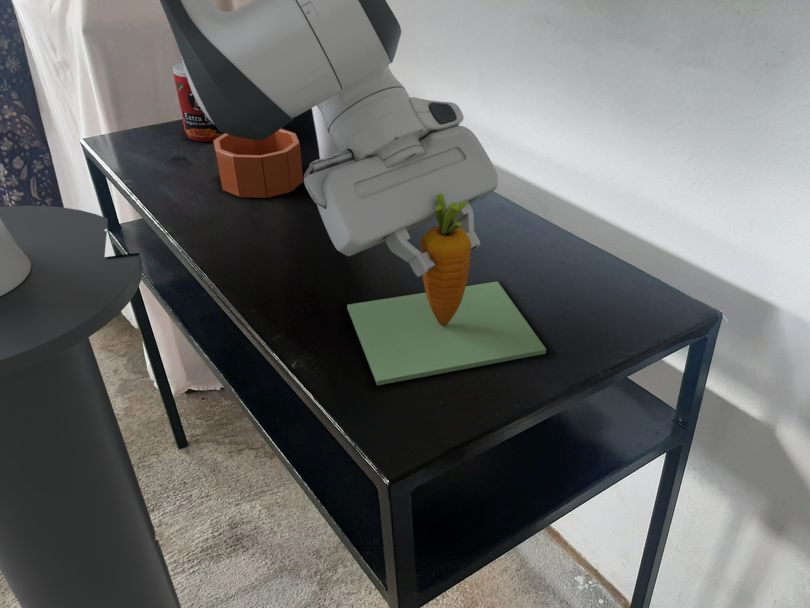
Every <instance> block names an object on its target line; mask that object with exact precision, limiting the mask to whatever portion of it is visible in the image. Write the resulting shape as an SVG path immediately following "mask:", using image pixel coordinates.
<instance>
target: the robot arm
mask: <svg viewBox="0 0 810 608" xmlns="http://www.w3.org/2000/svg"><path fill="white" fill-rule="evenodd" d="M159 2H160V5H161V7H162V9H163V12H164V14H165V16H166V19H167V22H168V24H169V27H170V30H171V31H172V35H173V37H174V39H175V42H176V45H177V47H178V50H179V53H180V57H181V60H182V61H181V62H183V65H184V69H185V73H186V76H187V79H188V82H189V85H190V88H191V91H192V93H193V95H194V97H195V99H196V101H197V103H198V105H199V106H200V108H201V109H202V111H203V112H204V114H205V115H206V116H207V118H208V119H209V120H210V121H211V122H212V123H213V124H214V125H215V126H216V127H217V129H218V130H219V131H221V132H223V133H226V134H229V135H232V136H236V137H240V138H245V139H251V140H265V139H266V138H268V137H269V136H271V135H272V134H274V133H275V132H277V131H278V130H280V129H283V128H284V127H285V126H288V124H290V123H292V122H293V121H294V118H296V117H298V116H300V115H302V114H303V113H305V112H307V111H309V110H312V108H313V107H314V106H317V107H318V108H319V109H320V111H321V113H322V115H323V118H324V121H325V126H326V129H327V132H328V134H329V135H330V137H331V139H332V141H333V143H334V144H335V146H336V148H337V150H338V151H339V153H337V154H334V155H332V156H330V157H327V158H325V159H320V158H317V159H315V160H313V161H312V162H310V163H309V166H308V168H307V169H306V170H305V172H304V174H303V184H304V186H305V188H306V190H307V192H308V194H309V196H310V197H311V198H310V199H312V201H313V202H314V203H315V204H316V207H317V209H318V212H319V215H320V218H321V220H322V222H323V223H322V224H323V225H324V228H325V230H326V231H327V232H326V233H327V234H328V236H329V238H330V240H331V243H332V244H333V247H334V248H335V250H336V251H338V252H339V253H341V254H343V255H345V256H346V257H352V256H354V255H357V254H359V253H361V252H363V251H366V250H368V249H371V248H372V247H373V248H374V247H375V246H377V245H380V244H382V243H384V242H385V243H386V246H387V247H388V249H389V251H390V252H391V253H393V254H394V255H395V256H397V257H398V258H400V259H402V260H403V261H405V262H406V263H408V264H409V266H410V268H411V269H412V271H413V273H414V274H415V276H417V277H418V278H419V277H423V276H422V275H424V274H426V273H428V272H429V271H431V270H432V269H434V268H435V263H434V261H433V260H432V259H431V255H430V254H429V252H428V251H426V252H424V253H422V254H421V250H419V249H417V247H415V246H414V245H413V244H411V243H410V241H409V240H411V235H410V233H409V232H410V231H412V230H415V229H417V228H420V227H422V226H424V225H426V224H428V223H430V222H433V221H435V220H437V218H436V214H435V207H436V206H437V205H438V204H437V199H436V196H437V195H438V194H443V195H444V199H445V207H446V212H447V210H448V208H449V206H450V205H451V203H452V202H456V203H457V204H460V203H462V202H463V201H465V202H467V203H468V204H467V205H466V206H465V207H464V208H463V209H461V211H460V212H459V213H458V215H457V216H456V218H455V220H454V222H460V223H461V226H460V227H458V228H461V229H462V230H464V232H465V233H466V234H467V236H468V237H469V239H470V241H471V252H473V251H475V250H476V249H478V248H480V247H481V241H480V239H479V237H478V236H477V234H476V232H475V217H474V214H475V213H474V209H473V208H472V206H471V205H473V204H474V203H477V202H479V201H482V200H484V199H485V198H486V197H488V196H489V195H490V194H491V193H493V192H494V191H495V190H496V189H498V184H499V175H498V171H497V170H496V168H495V166H494V164H493V162H492V160H491V158H490V156H489V155H488V153H487V152H486V150H485V147H484V146H483V144H482V143H481V142H480V140H479V139H478V137H477V136H476V134H475V133H474V132H473V131H472V130H471V129H470V128H468V127H466V126H464V125H460V124H461V123H462V122H463V121H464V114H463V112H462V110H461V107H460V106H459V104H457V103H455V102H451V101H440V100H430V99H425V98H419V97H415V96H413V97H412V96H410V94H409V93H408V91H407V89H406V88H405V86H404V85H403V84H402V83H401V82H400V81H399V80H398V79H397V77H396V76H395V75H394V74H393V72H392V70H391V68H390V66H389V65H390V64H392V63H393V62H394V60H395V56H396V54H397V49H398V46H399V42H400V39H401V35H402V27H401V24H400V23H399V21H398V19H397V17H396V15H395V14H394V12H393V10H392V9H391V7H390V5H389V3H388V2H387V0H250V1H249V2H247V3H245V4H243V5H242V6H241V5H240V6H239V7H238V8H235V9H233V10H229V11H223V10H220V9H219V8H218V7H217V6H216V5H215V3H214V0H159ZM30 270H31V262H30V260H29V258H28V257H27V256H26V255H25V254H24V253H23V251H22V250H21V249H20V247H19V246H18V245H17V243H16V242H15V240H14V239H13V238H12V236H11V234H10V233H9V231H8V229H7V228H6V226H5V224H4V223H3V221H2V219H1V217H0V296H2V295H4V294H6V293H8V292H9V291H11V290H13V289H14V288H15V287H17V286H18V285H19V284H21V283H22V282H23V281H24V280H25V279H26V277H27V276H28V274H29V273H30Z"/></svg>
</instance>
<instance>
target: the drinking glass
mask: <svg viewBox="0 0 810 608" xmlns="http://www.w3.org/2000/svg"><path fill="white" fill-rule="evenodd" d="M311 112H312V119H313V123H314V124H313V125H314V129H315V130H314V131H315V136H316V141H317V147H318V155H319V159H325V158H327V157H330V156H332V155H334V154H337V153H339V151H338V150H337V148H336V146H335V144H334V143H333V141H332V139H331V137H330V135H329V134H328V132H327V129H326V126H325V121H324V118H323V115H322V113H321V111H320V109H319V108H318V107H317V106H314V107H313V108H311Z"/></svg>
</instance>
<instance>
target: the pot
mask: <svg viewBox="0 0 810 608" xmlns="http://www.w3.org/2000/svg"><path fill="white" fill-rule="evenodd" d="M213 146H214V152H215V157H216V158H215V159H216V163H217V168H218V173H219V174H218V175H219V180H220V186H221V190H222V191H224V192H227V193H229V194H231V195H234V196H236V197H239V198H255V199H256V198H259V199H263V198H264V199H267V198H272V197H276V196H280V195H284V194H289V193H291V192H293V191H295V189H296V188H298V187H299V186H301V185H302V184H303V183H304V173H303V165H302V164H303V162H302V154H301V144H300V140H299V138H298V136H297V134H296V132H292V131H289V130H287V129H283V128H281V129H280V130H278V131H277V132H275V133H274V134H272V135H271V136H269V137H268V138H266V139H265V140H251V139H245V138H240V137H236V136H232V135H229V134H226V133H225V134H223V135H221V136H220V137H218V138H216V139H215V140H214V141H213Z"/></svg>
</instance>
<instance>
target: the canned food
mask: <svg viewBox="0 0 810 608" xmlns="http://www.w3.org/2000/svg"><path fill="white" fill-rule="evenodd" d="M172 74H173V78H174V83H175V89H176V94H177V99H178V103H179V108H180V113H181V119H182V123H183V128H184V133H186V136H187V137H188V138H189V139H190V140H192V141H195V142H199V143H211V142H212V143H214V140H215V139H216V138H218V137H220V136H221V135H223V134H225V133H223V132H221V131H219V130H218V129H217V127H216V126H215V125H214V124H213V123H212V122H211V121H210V120H209V119H208V118H207V116H206V115H205V114H204V112H203V111H202V109H201V108H200V106H199V105H198V103H197V101H196V99H195V97H194V95H193V93H192V91H191V88H190V85H189V82H188V79H187V76H186V73H185V69H184V65H183V61H181V62H178V63H176V64H175V65H173V67H172Z"/></svg>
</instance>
